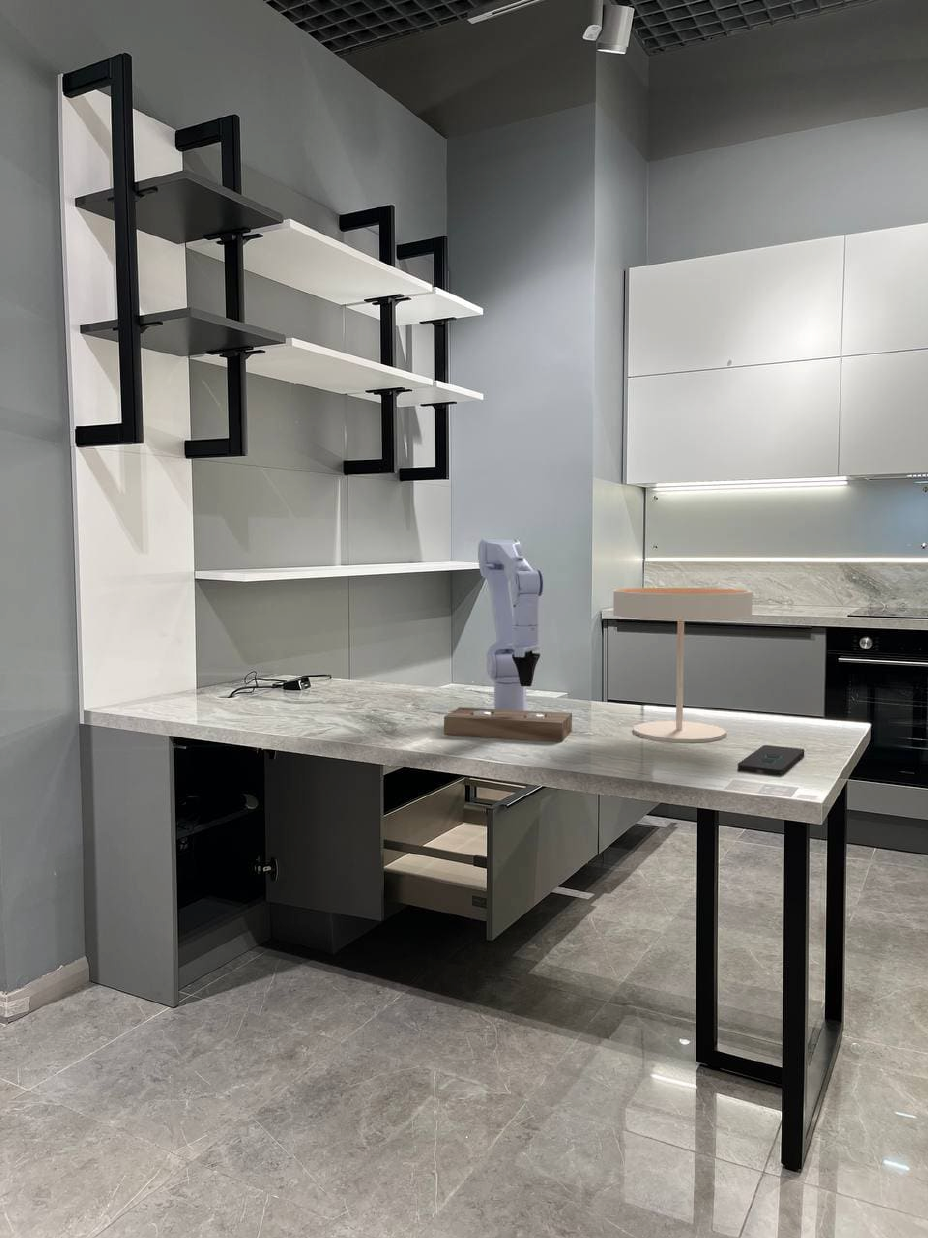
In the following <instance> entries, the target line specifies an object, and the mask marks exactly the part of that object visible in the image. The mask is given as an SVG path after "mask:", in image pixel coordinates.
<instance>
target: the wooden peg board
mask: <svg viewBox="0 0 928 1238" xmlns="http://www.w3.org/2000/svg"><path fill="white" fill-rule="evenodd" d="M474 711H490V712H491V715H490V716H486V715H473V712H474ZM530 713H540V714H544V715H545V718H526V714H530ZM572 731H573V712H565V711H564V712H563V711H559V712H558V711H540V710H526V711H524V710H503V709H494V708H483V707H482V708H479V707H460V706H459V707H458V708H456V709H455V710H453V711H451V712H449V713H447V714H446V715H444V716H443V735H444V736H445V735H447V736H457V737H458V736H461V737H478V738H479V737H480V738H494V739H495V738H496V739H510V740H511V739H513V740H514V739H515V740H531V741H544V742H545V741H547V742H563V741H564V740H565V739H566V738H567V737H568V736H569V735H570V733H571V732H572Z"/></svg>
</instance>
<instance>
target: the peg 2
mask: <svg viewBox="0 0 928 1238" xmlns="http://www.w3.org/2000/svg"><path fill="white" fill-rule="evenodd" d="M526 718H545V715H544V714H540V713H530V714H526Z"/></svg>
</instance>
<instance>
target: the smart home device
mask: <svg viewBox="0 0 928 1238" xmlns="http://www.w3.org/2000/svg"><path fill="white" fill-rule="evenodd" d="M804 757H805V748H797V747H788V746H779V745H770V744H769V745H768V744H763V745H762V746H761V747H759V748H758V749H757V750H755V751H754V752H752V753H751V754H749V755H748V756H747V757H745V758H744V759H743V760H741V761H740V762H739V763H737V771H739V772H746V773H752V774H762V775H770V776H779V777H780V776H781V777H782V776H783V775H784V774H786V773H787V772H788V771H789V770H790V769H791V768H792V767H793V766H795V765H796V764H797V763H798V762H799V761H800V760H802V758H804Z"/></svg>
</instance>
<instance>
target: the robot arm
mask: <svg viewBox="0 0 928 1238" xmlns="http://www.w3.org/2000/svg"><path fill="white" fill-rule="evenodd" d="M477 559H478V566H479V572H480V576H481V577H482V578H484V579H485V580H487V583H488V588H489V593H490V594H489V595H490V600H491V608H492V616H493V626H494V630H495V638H496V641H495V642H494V643H493V644H492V645H490V646H489V648H488V650H487V652H486V659H487V660H486V661H487V662H486V671H487V675H488V677H489V679H490V680H492V681H493V709H503V710H524V711H527V687H531V686H532V685H533V681H534V675H535V669H536V666H537V663H538V661H539V659H540V657H541V653H540V652H539V653H538V652H533V651H538V650H539V649H541V644H540V597H541V596H542V595H543V591H544V576H543V573H542V572H541V570H540V569H536V570H533V568H532V567H531V566H530V564H529V563H528V561H527V559H525V558H524V557H523V555H522V544H521V542H520V541H519V539H517V538H516V539H485V538H482V539H481V540H480V541H479V542H478V547H477ZM512 605H513V607H512Z"/></svg>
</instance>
